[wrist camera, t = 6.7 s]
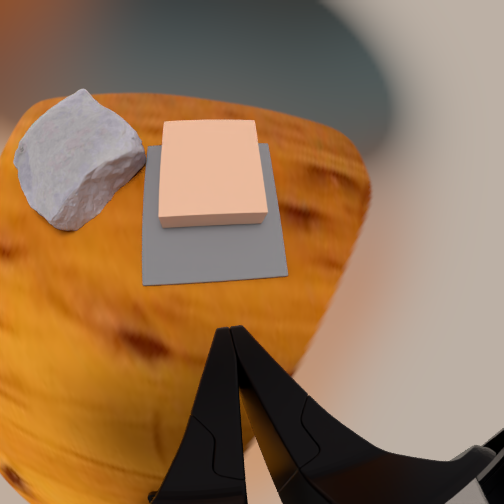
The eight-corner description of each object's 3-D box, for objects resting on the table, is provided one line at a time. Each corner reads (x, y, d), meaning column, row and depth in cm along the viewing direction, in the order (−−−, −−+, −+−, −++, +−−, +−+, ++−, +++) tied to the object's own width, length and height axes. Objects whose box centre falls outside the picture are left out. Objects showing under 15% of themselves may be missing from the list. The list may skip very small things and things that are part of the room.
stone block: (81, 251, 19) (160, 157, 20) (46, 241, 14) (141, 126, 15) (29, 177, 20) (91, 103, 21) (0, 159, 15) (71, 76, 16)
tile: (267, 212, 18) (254, 120, 20) (158, 217, 16) (164, 121, 18) (261, 224, 20) (249, 137, 22) (162, 229, 18) (166, 138, 20)
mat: (286, 276, 19) (288, 275, 19) (143, 285, 17) (142, 285, 17) (267, 145, 22) (268, 143, 22) (148, 148, 20) (148, 146, 20)
